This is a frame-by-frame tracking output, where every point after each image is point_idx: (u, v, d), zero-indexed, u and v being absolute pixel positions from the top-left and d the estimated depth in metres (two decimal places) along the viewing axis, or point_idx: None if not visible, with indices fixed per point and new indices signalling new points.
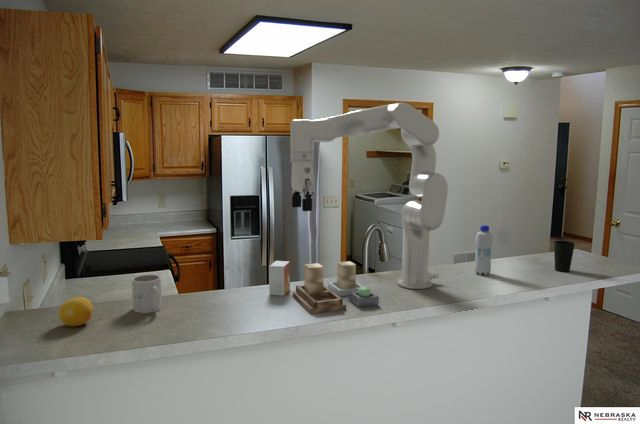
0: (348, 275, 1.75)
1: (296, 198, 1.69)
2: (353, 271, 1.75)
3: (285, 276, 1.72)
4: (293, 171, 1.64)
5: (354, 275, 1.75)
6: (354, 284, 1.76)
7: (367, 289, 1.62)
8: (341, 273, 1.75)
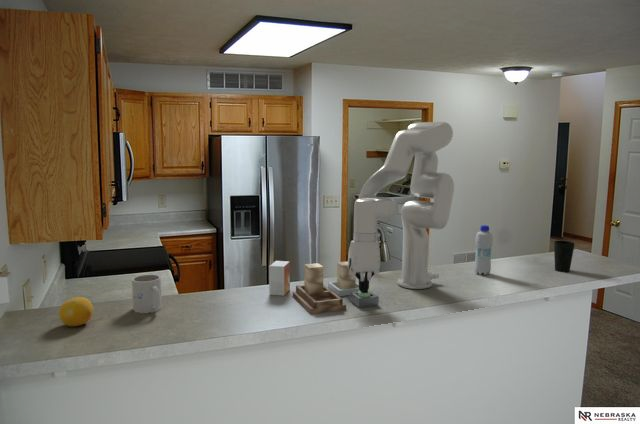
0: (348, 275, 1.75)
1: None
2: None
3: (285, 276, 1.72)
4: (364, 252, 1.58)
5: None
6: (354, 284, 1.76)
7: None
8: (341, 273, 1.75)
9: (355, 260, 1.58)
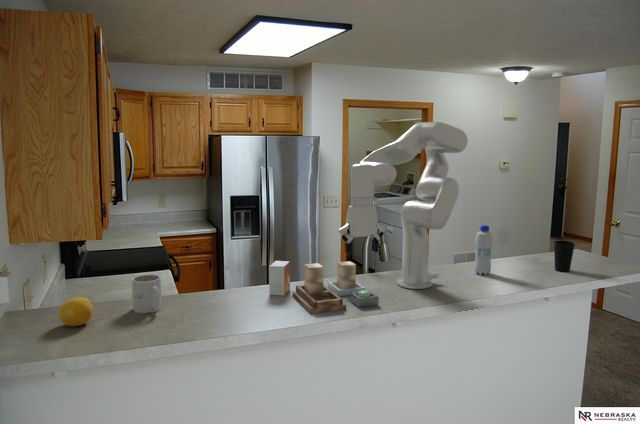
0: (348, 275, 1.75)
1: None
2: (353, 271, 1.75)
3: (285, 276, 1.72)
4: (362, 217, 1.60)
5: (354, 275, 1.75)
6: (354, 284, 1.76)
7: (367, 292, 1.63)
8: (341, 273, 1.75)
9: (353, 224, 1.59)
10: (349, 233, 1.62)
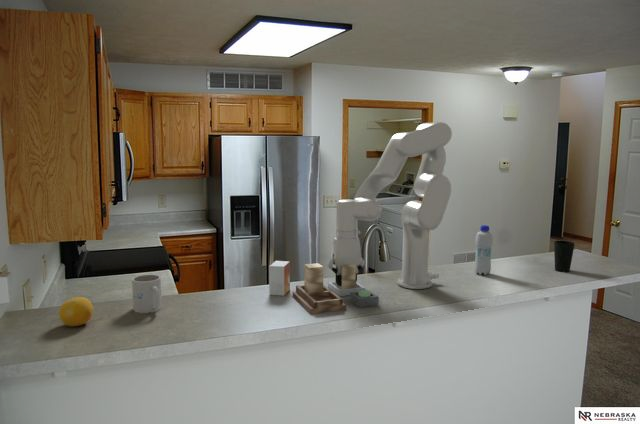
0: (348, 275, 1.74)
1: None
2: (353, 271, 1.75)
3: (285, 276, 1.72)
4: (345, 249, 1.73)
5: (354, 275, 1.75)
6: (354, 284, 1.76)
7: (367, 292, 1.63)
8: (341, 273, 1.75)
9: (337, 256, 1.72)
10: None
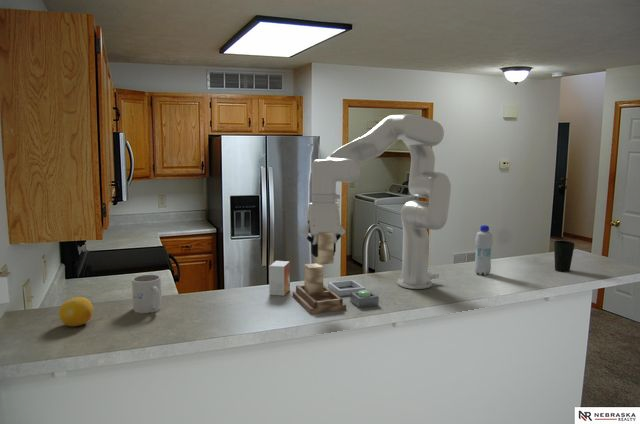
0: (325, 244, 1.55)
1: None
2: (331, 240, 1.56)
3: (285, 276, 1.72)
4: (322, 214, 1.53)
5: (332, 244, 1.56)
6: (332, 255, 1.56)
7: (367, 292, 1.63)
8: (317, 242, 1.55)
9: (313, 222, 1.53)
10: None
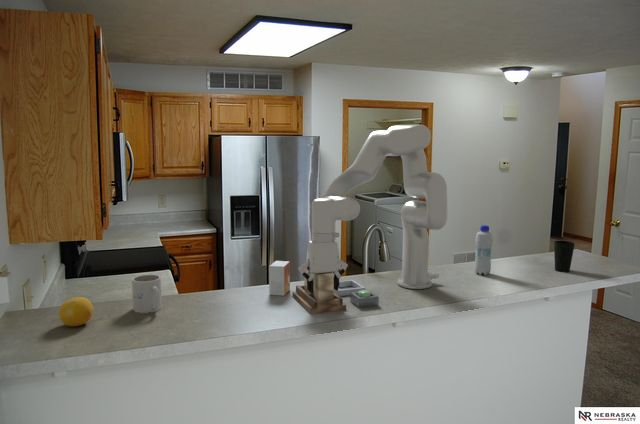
0: (325, 285, 1.57)
1: None
2: (331, 281, 1.58)
3: (285, 276, 1.72)
4: (322, 253, 1.55)
5: (332, 285, 1.58)
6: (332, 295, 1.58)
7: (367, 292, 1.63)
8: (317, 283, 1.57)
9: (313, 261, 1.55)
10: None
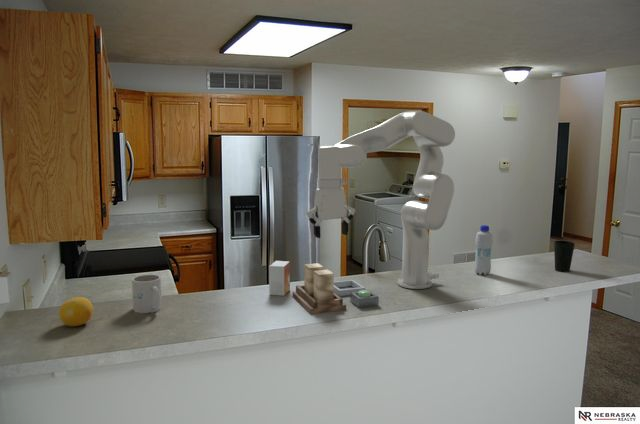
0: (325, 285, 1.57)
1: None
2: (331, 281, 1.58)
3: (285, 276, 1.72)
4: (329, 199, 1.59)
5: (332, 285, 1.58)
6: (332, 295, 1.58)
7: (367, 292, 1.63)
8: (317, 283, 1.57)
9: (321, 207, 1.58)
10: (317, 216, 1.61)
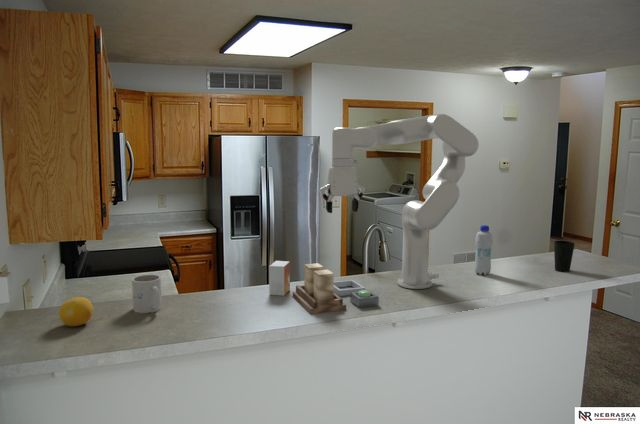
0: (325, 285, 1.57)
1: None
2: (331, 281, 1.58)
3: (285, 276, 1.72)
4: (341, 177, 1.71)
5: (332, 285, 1.58)
6: (332, 295, 1.58)
7: (367, 292, 1.63)
8: (317, 283, 1.57)
9: (333, 184, 1.70)
10: (330, 193, 1.73)
